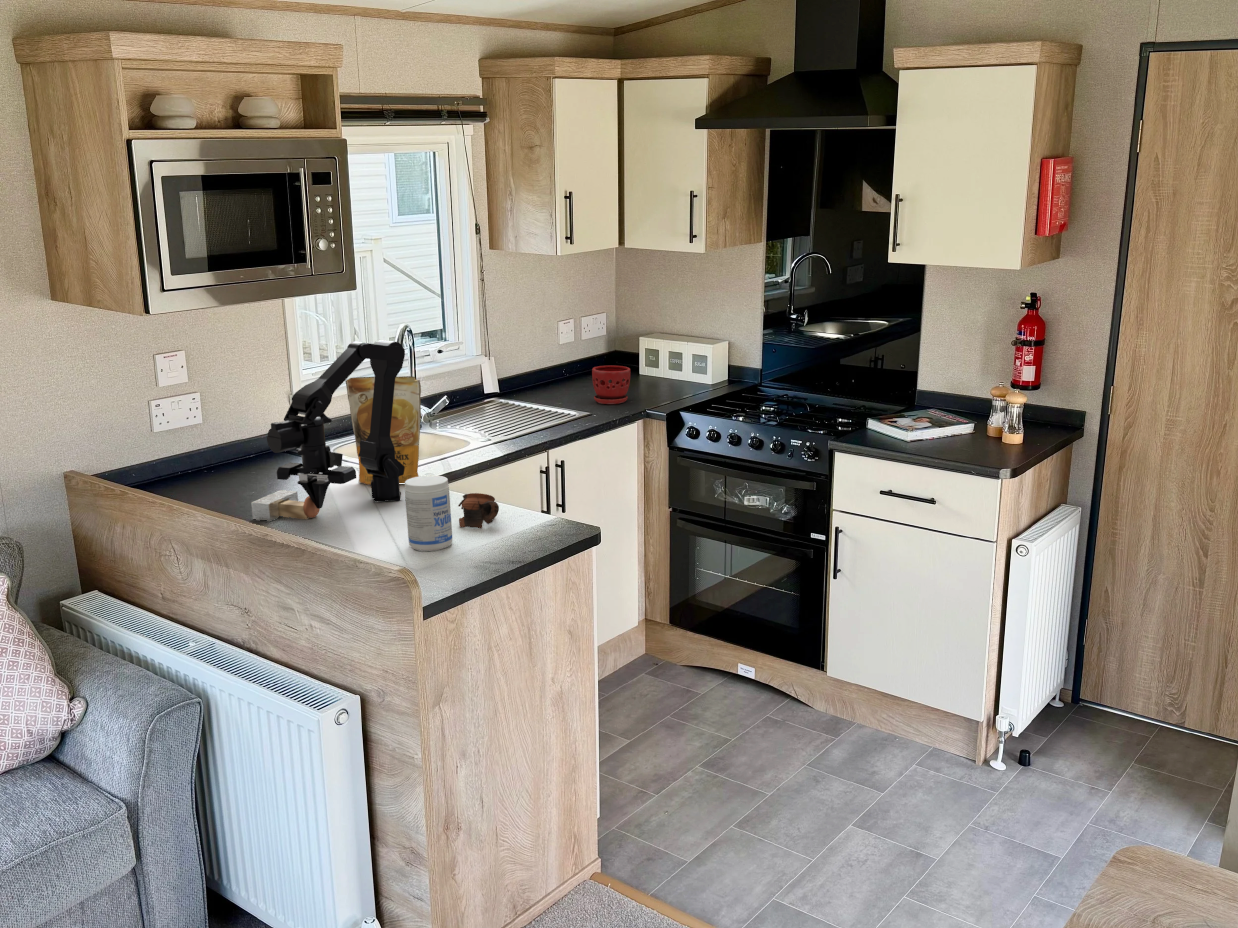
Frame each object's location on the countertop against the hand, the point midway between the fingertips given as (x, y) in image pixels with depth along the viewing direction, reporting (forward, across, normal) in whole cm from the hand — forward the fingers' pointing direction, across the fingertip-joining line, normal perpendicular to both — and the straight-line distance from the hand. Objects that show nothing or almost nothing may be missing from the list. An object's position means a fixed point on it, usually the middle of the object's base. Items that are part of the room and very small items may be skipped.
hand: (319, 508), depth 271 cm
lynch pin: (+2, +7, 0) cm, 7 cm away
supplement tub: (+3, -36, +10) cm, 38 cm away
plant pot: (+3, -19, -143) cm, 144 cm away
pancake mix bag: (+3, +1, -33) cm, 33 cm away
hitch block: (+2, +13, 0) cm, 13 cm away
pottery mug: (+3, -39, -7) cm, 40 cm away
